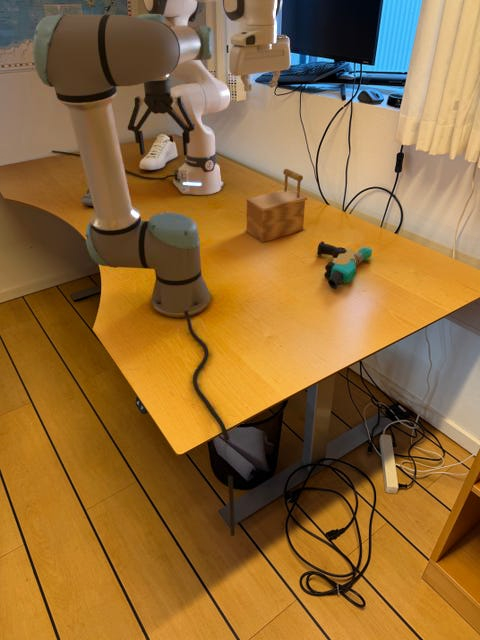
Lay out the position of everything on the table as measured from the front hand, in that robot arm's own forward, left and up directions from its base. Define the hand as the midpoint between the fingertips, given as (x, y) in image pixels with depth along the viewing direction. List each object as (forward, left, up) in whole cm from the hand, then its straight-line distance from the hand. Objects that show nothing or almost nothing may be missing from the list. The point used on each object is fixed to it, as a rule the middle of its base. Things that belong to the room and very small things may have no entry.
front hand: (164, 153), depth 148 cm
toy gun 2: (-26, -53, -25) cm, 64 cm away
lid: (0, -36, -15) cm, 38 cm away
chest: (0, -35, -25) cm, 43 cm away
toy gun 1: (+21, +29, -25) cm, 44 cm away
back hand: (+10, -30, +17) cm, 35 cm away
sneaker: (+67, +19, -25) cm, 74 cm away
